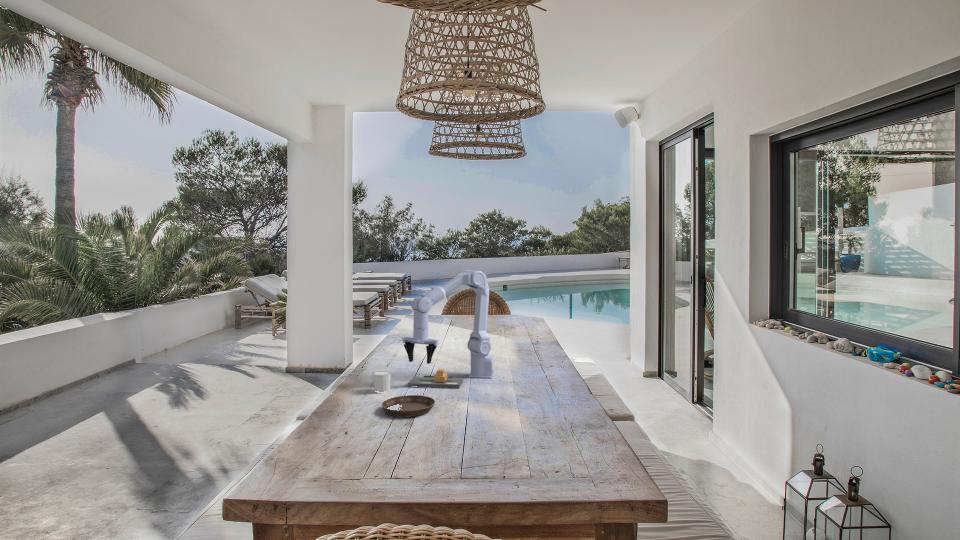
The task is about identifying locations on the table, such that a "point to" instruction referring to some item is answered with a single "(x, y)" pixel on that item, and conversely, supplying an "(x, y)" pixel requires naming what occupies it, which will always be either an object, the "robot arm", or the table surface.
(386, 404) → the plant saucer
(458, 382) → the breaker panel
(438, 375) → the breaker toggle
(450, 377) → the cord bundle
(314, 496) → the table surface
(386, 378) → the shot glass
